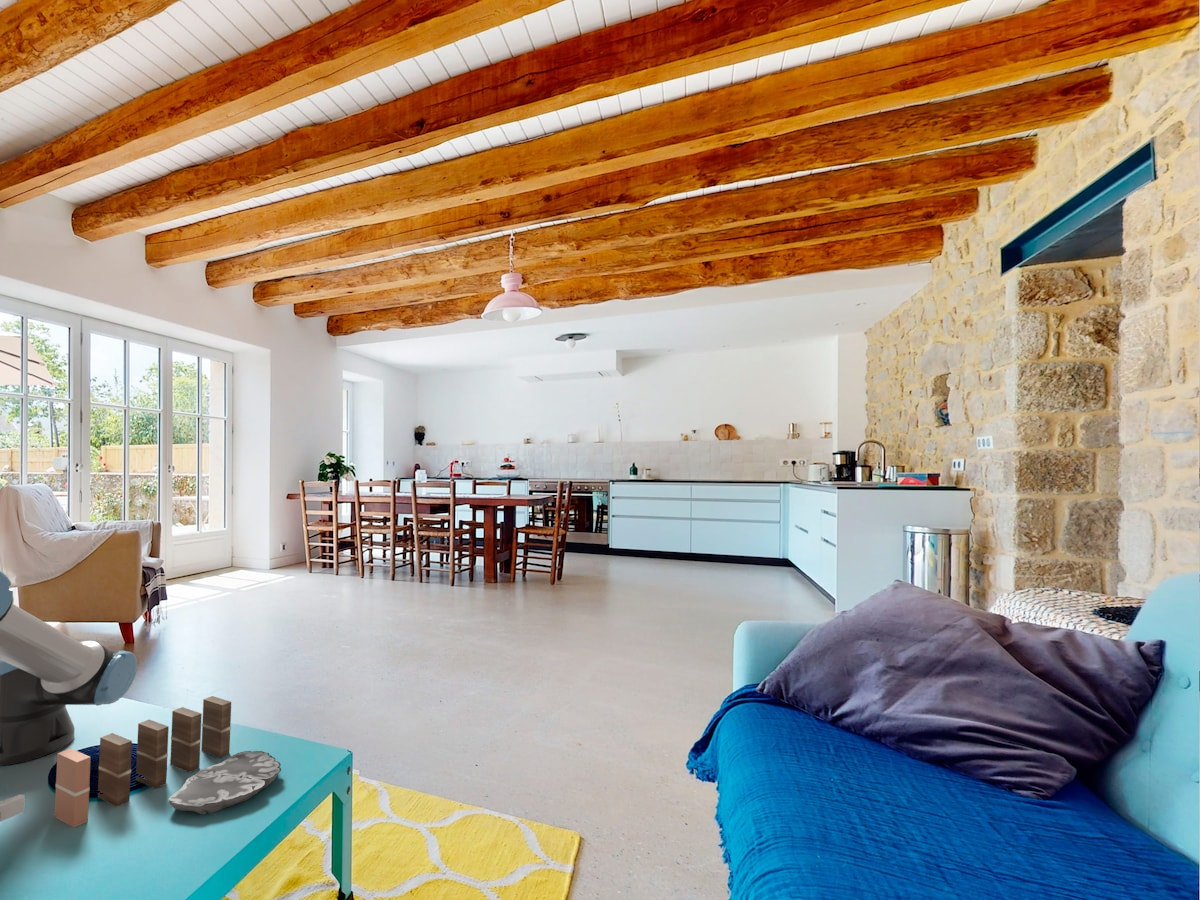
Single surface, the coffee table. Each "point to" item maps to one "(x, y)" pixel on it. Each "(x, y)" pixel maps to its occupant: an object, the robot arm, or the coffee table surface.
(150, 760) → the domino
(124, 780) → the domino
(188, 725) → the domino
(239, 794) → the brain slice
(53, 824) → the coffee table surface
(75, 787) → the domino
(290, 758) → the coffee table surface
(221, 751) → the domino
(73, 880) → the coffee table surface
